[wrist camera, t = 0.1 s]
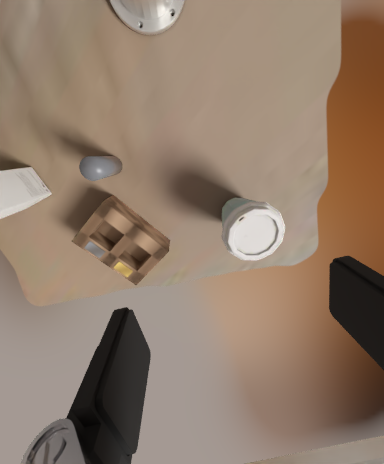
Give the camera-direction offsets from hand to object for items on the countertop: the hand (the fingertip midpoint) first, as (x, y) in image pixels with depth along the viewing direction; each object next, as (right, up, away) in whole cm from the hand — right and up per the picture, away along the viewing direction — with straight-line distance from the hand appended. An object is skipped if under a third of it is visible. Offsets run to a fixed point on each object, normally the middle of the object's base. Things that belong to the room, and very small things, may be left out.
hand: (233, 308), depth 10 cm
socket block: (-17, +3, +38) cm, 41 cm away
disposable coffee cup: (+8, +8, +37) cm, 39 cm away
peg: (-18, +17, +32) cm, 41 cm away
